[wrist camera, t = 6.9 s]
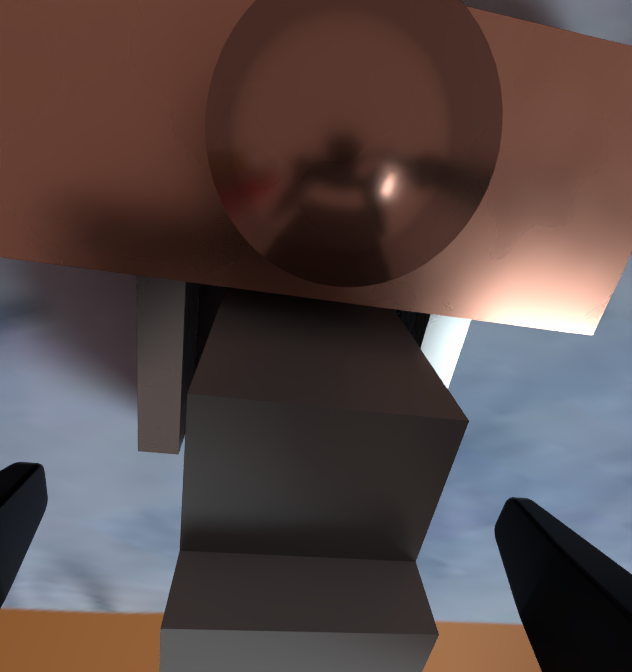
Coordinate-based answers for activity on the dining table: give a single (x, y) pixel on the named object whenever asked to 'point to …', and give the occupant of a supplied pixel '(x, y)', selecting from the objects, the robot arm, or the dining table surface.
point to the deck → (316, 165)
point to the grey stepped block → (308, 491)
